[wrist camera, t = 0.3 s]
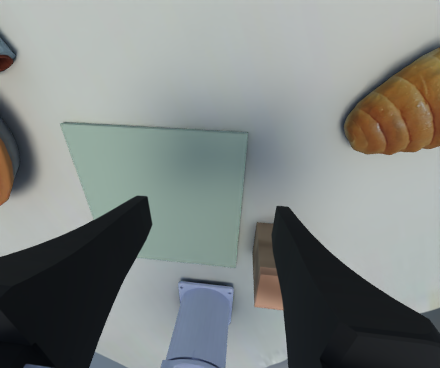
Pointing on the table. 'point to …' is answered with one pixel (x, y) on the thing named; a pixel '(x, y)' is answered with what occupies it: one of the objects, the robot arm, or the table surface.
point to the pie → (7, 161)
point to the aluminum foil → (5, 56)
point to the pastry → (400, 111)
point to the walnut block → (265, 270)
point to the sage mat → (167, 185)
